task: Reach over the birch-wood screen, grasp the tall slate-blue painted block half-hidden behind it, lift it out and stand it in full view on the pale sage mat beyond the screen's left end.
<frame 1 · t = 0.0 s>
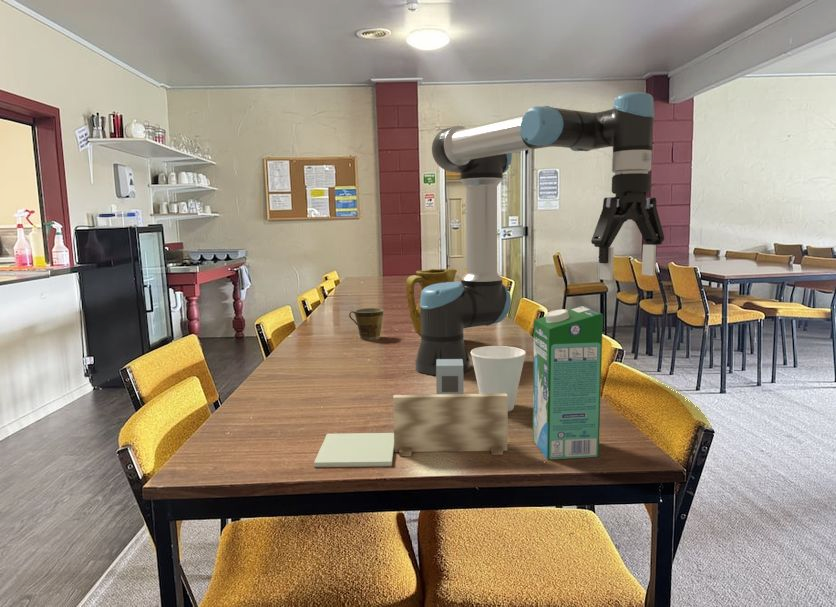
hand: (627, 277, 119), 28 cm above the table, fingers open, 13 cm apart
birch screen: (450, 449, 101), on the table
cup: (497, 408, 124), on the table
pitcher: (436, 343, 189), on the table
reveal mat: (357, 451, 101), on the table
ceramic cup: (366, 338, 200), on the table
milk carton: (564, 449, 101), on the table
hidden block: (450, 433, 109), on the table
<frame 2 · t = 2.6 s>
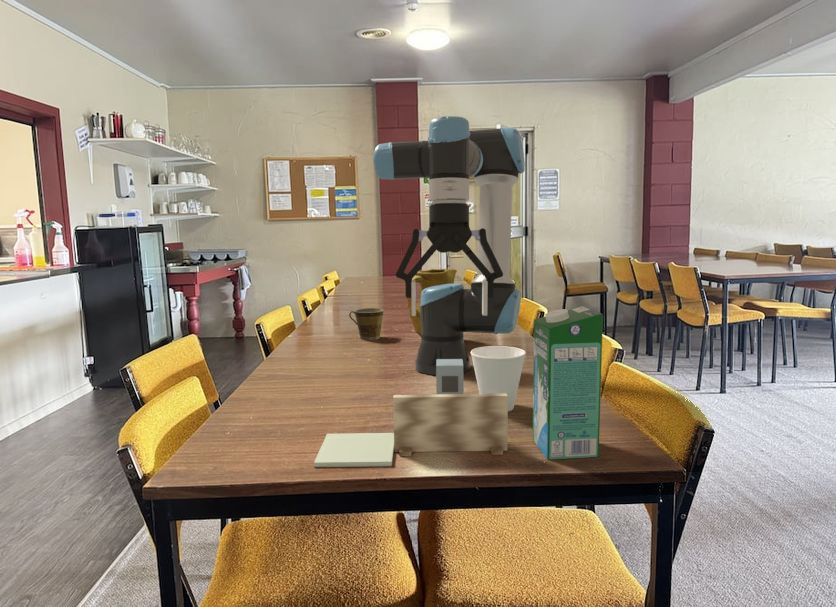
hand: (449, 315, 109), 22 cm above the table, fingers open, 13 cm apart
nothing on the table moved.
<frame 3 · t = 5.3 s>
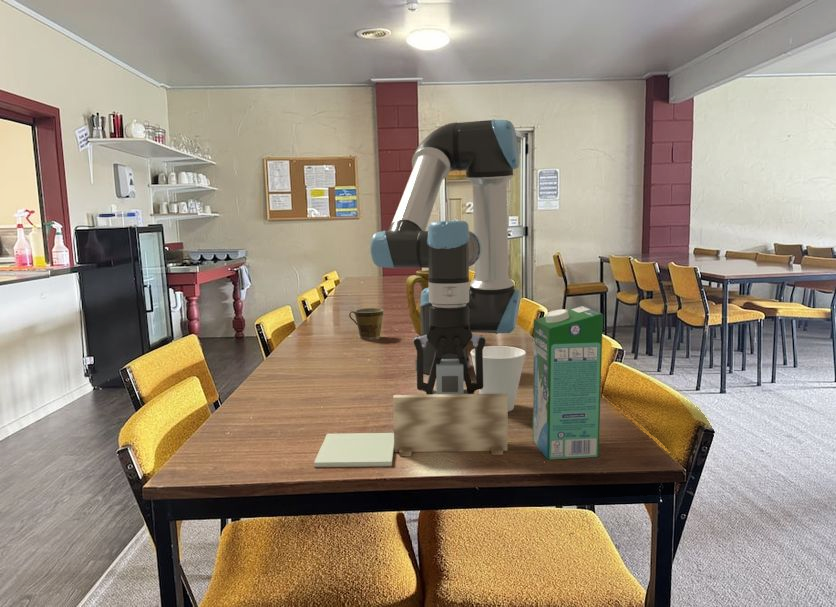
hand: (450, 424, 109), 2 cm above the table, fingers closed on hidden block, 5 cm apart
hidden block: (450, 433, 109), on the table, touching gripper
everything else where it was.
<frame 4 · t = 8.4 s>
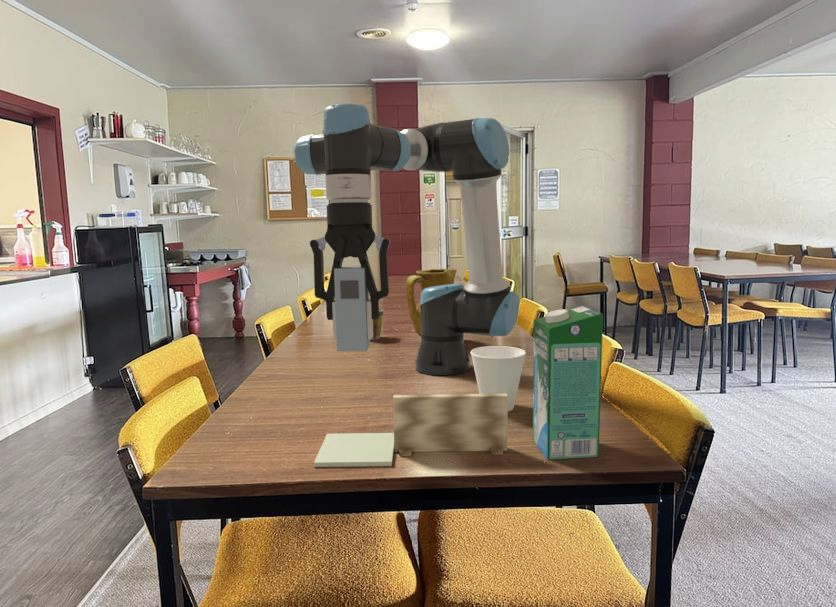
hand: (353, 337, 98), 21 cm above the table, fingers closed on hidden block, 5 cm apart
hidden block: (354, 347, 99), point 19 cm above the table, touching gripper
everything else where it was.
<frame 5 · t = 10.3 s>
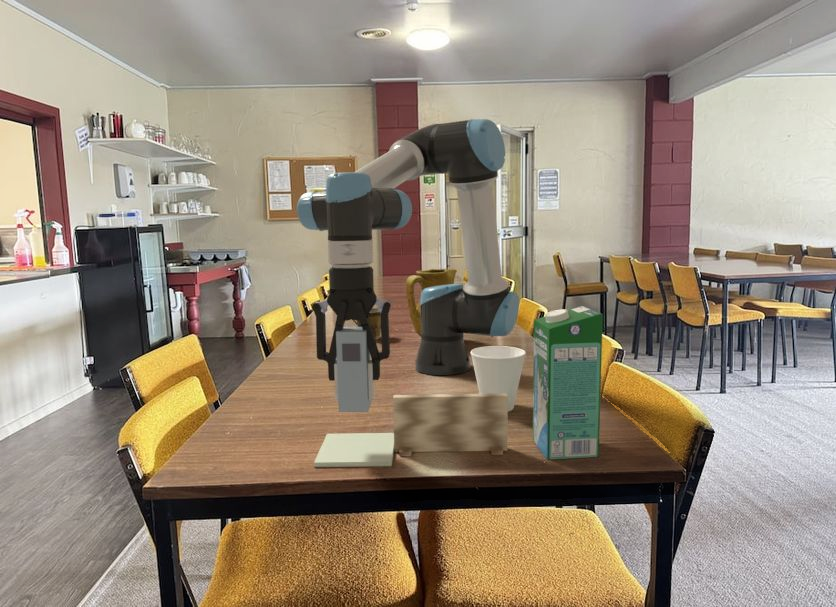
hand: (355, 397, 100), 10 cm above the table, fingers closed on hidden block, 5 cm apart
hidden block: (355, 407, 100), point 8 cm above the table, touching gripper
everything else where it was.
when the fingers open (3 cm above the table, at t = 11.9 s): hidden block stays where it is, resting on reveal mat.
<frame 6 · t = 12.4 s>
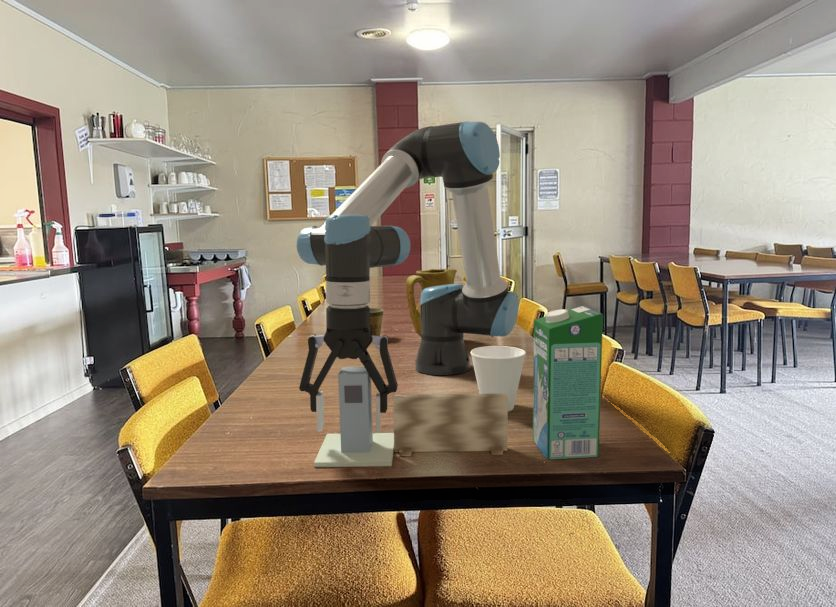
hand: (349, 429, 101), 4 cm above the table, fingers open, 10 cm apart
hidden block: (357, 446, 101), point 1 cm above the table, touching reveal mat
everything else where it was.
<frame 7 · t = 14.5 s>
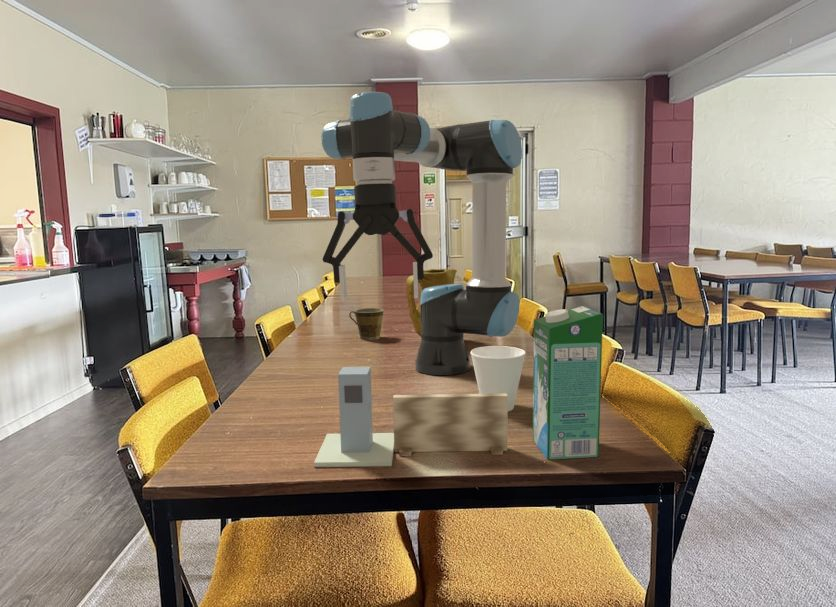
hand: (380, 298, 107), 26 cm above the table, fingers open, 13 cm apart
nothing on the table moved.
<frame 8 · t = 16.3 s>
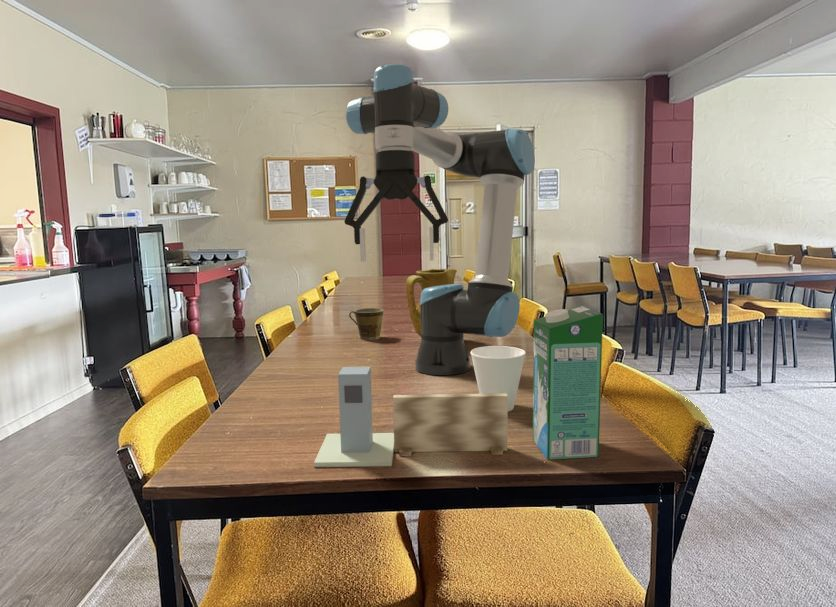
hand: (397, 260, 113), 33 cm above the table, fingers open, 13 cm apart
nothing on the table moved.
at the end: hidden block inside the target area on the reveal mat (0.0 cm from its centre), point 0.8 cm above the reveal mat's base; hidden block tilted 0°; the gripper is holding nothing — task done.
